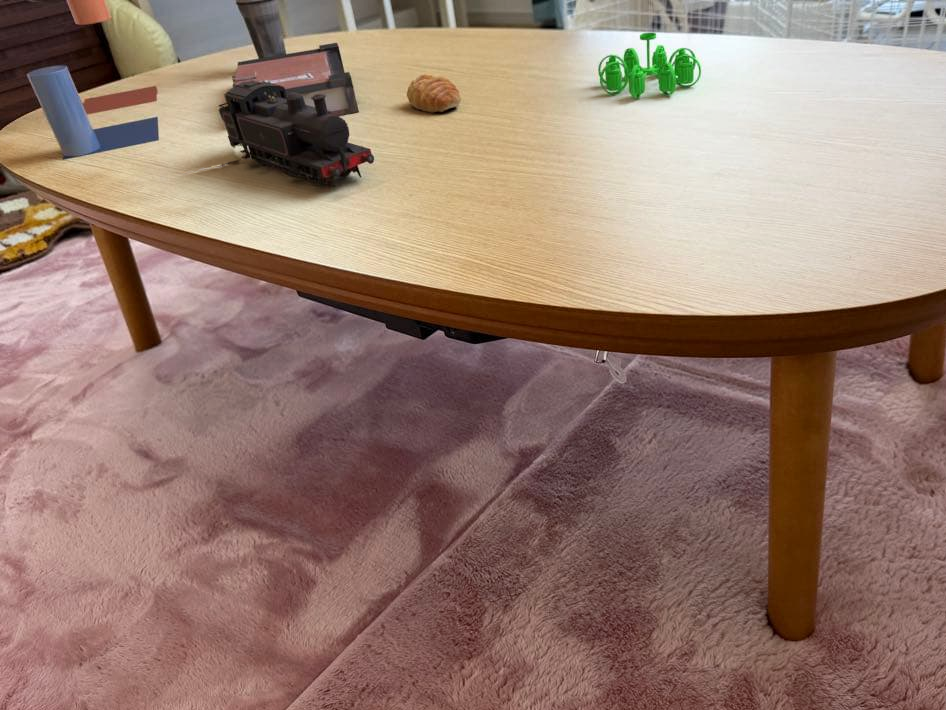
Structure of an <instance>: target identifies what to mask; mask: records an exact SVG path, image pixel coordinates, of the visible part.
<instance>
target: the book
mask: <svg viewBox="0 0 946 710" xmlns="http://www.w3.org/2000/svg"><path fill="white" fill-rule="evenodd" d="M342 59H343V58H342V55H341V51H340V46H339V44H338V42H332V43H326V44H319V45H318V48H314V49H309V50H303V51H296V52H291V53H286V54H284V55H278V56H272V57H266V58H260V59H259V58H255V59H248V60H243V61H238V62H237V67H236V73H235V74H234V75H231V80H232V88H233V87H234V86H235V85H238V84H240V83H242V82H247V81H251V80H252V81H257V82H262V81H263V82H267V83H272V84H276V85H280V86H282V87H284V88H285V92H286V95H287V97H288V96H289V94H290V93H293V92H296V93H299V94H300V95H302V96H303V98H304V101H305V104H306V105H309V106H313V107H315V105H314V101H313V100H312V99H311V97H313V96H314V95H316V94H323V95H326V97H325V102H326V106H327V110H328V111H331V114H332V115H336V116H339V117H340V116H344V115H350V114H357V113H359V112H360V111H359V106H358V101H357V97H356V93H355V87H354V83H353V80H352V76H351V73H350V72H349V71H345V69H344V64H343V60H342ZM273 95H274V97H275V96H277V95H276V92H273ZM235 102H238V101H235Z"/></svg>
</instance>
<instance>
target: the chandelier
mask: <svg viewBox="0 0 946 710" xmlns="http://www.w3.org/2000/svg"><path fill="white" fill-rule="evenodd" d="M655 39H657V33H656V32H643V33H641V34H640V35H639V40H640V41H646V67H643V66H642V65H641V64H640V58H639V55H638V52H637V50H635V48H633V47H629V48H625V50H624V53H623V58H622V57H621V56H620V55H617V54H609V55H606V56H605V57H603V58H602V59H601V60H600V62H599V64H598V68H597V71H598V76H599V84H600V87H601V89H602V90H603V91H604V92H605V93H607V94H608V95H618V94H620V93H622V92H623V91H624V90H625V88H626V87H627V86H628V92H629V94H630V95H631V97H632V98H633V99H639V98H640V97H641V95H643V94H645V92H646V77H645V76H654V75H655V77H657V80H658V90H659V91H660V92H662V94H663V95H664V96H666V97H667V96H672V95H674V93H675V91H676V88H677V86H678V87H680V88H684V89H685V88H687V89H688V88H690V87H693V86H695V84H697V83H698V81H699V80H700V78H701V75H702V66H701V63H700V61H699V60H698V59H697V58H696V55H695V53H694V51H692V50H691V49H690V48H687V47H680V48H678V49H675V51H674V52H672V54H671V55H670V57H669V60H668V55H667V51H666V50H665V49H666V48H665V47H664V45H663V44H658V45H656V47H655V51H653V52H652V57H651V54H650V53H651V51H650V47H651V46H650V41H652V40H655ZM686 51H688V52H689V53H690V54H691V55H690V54H689V53H686ZM606 59H608V60H607V61H605V60H606ZM673 59H674V60H673ZM690 59H691V60H690ZM604 61H605V66H604V67H603V68H602V64H603V62H604ZM696 65H697V68H698V76H697V79H696V80H694V78H695V77H694V76H695V68H696ZM621 67H622V68H623V73H624V76H623V73H622V69H621ZM604 75H605V78H604ZM623 82H624V83H623ZM604 84H605V85H606V88H607V89H606V88H605V86H604Z"/></svg>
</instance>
